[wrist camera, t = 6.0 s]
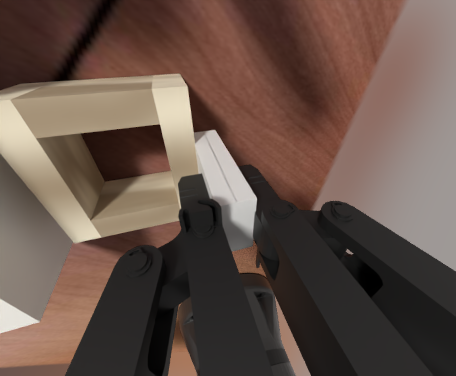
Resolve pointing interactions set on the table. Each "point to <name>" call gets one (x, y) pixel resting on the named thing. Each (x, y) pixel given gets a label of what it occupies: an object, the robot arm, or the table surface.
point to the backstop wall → (26, 252)
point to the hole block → (81, 157)
